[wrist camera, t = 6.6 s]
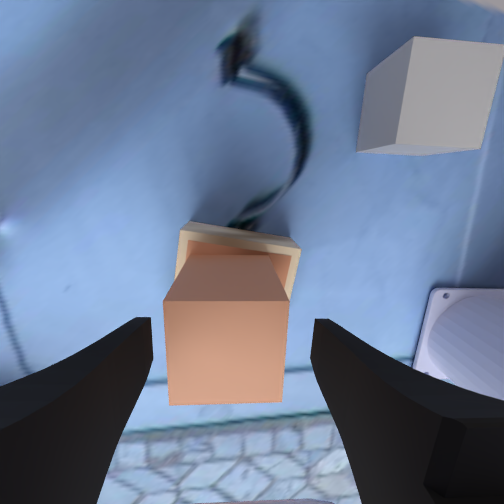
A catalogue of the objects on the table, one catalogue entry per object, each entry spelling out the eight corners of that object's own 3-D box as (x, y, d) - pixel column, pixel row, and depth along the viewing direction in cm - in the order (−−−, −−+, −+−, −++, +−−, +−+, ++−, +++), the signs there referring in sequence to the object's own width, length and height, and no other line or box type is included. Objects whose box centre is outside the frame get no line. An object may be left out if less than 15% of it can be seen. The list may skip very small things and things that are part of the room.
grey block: (435, 79, 17) (507, 44, 12) (420, 156, 18) (480, 148, 13) (365, 74, 16) (413, 36, 12) (355, 152, 17) (395, 143, 13)
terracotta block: (268, 255, 15) (289, 301, 10) (264, 324, 17) (281, 402, 11) (189, 254, 15) (163, 301, 9) (191, 325, 16) (169, 405, 11)
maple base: (289, 236, 19) (301, 249, 15) (270, 323, 21) (277, 352, 17) (189, 220, 18) (179, 230, 15) (178, 312, 20) (167, 340, 16)
